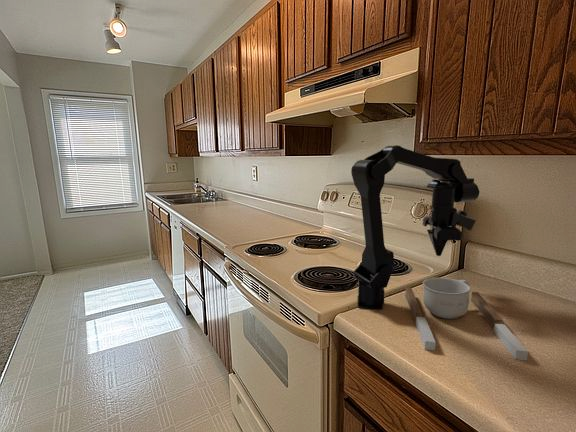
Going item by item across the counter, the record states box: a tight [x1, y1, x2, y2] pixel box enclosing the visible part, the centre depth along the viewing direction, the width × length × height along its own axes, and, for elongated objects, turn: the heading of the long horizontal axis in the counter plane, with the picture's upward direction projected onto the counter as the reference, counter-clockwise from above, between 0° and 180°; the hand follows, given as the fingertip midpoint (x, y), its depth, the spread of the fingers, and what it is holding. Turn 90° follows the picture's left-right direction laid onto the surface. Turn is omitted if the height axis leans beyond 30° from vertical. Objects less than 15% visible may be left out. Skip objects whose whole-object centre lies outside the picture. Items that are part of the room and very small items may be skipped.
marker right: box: [493, 323, 529, 361], centre depth 66 cm, size 2×10×2 cm, turn 168°
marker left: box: [415, 316, 437, 351], centre depth 69 cm, size 2×10×2 cm, turn 168°
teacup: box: [422, 277, 471, 320], centre depth 79 cm, size 14×11×8 cm
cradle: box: [404, 286, 503, 329], centre depth 80 cm, size 19×15×2 cm
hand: (438, 255), depth 90 cm, fingers closed
